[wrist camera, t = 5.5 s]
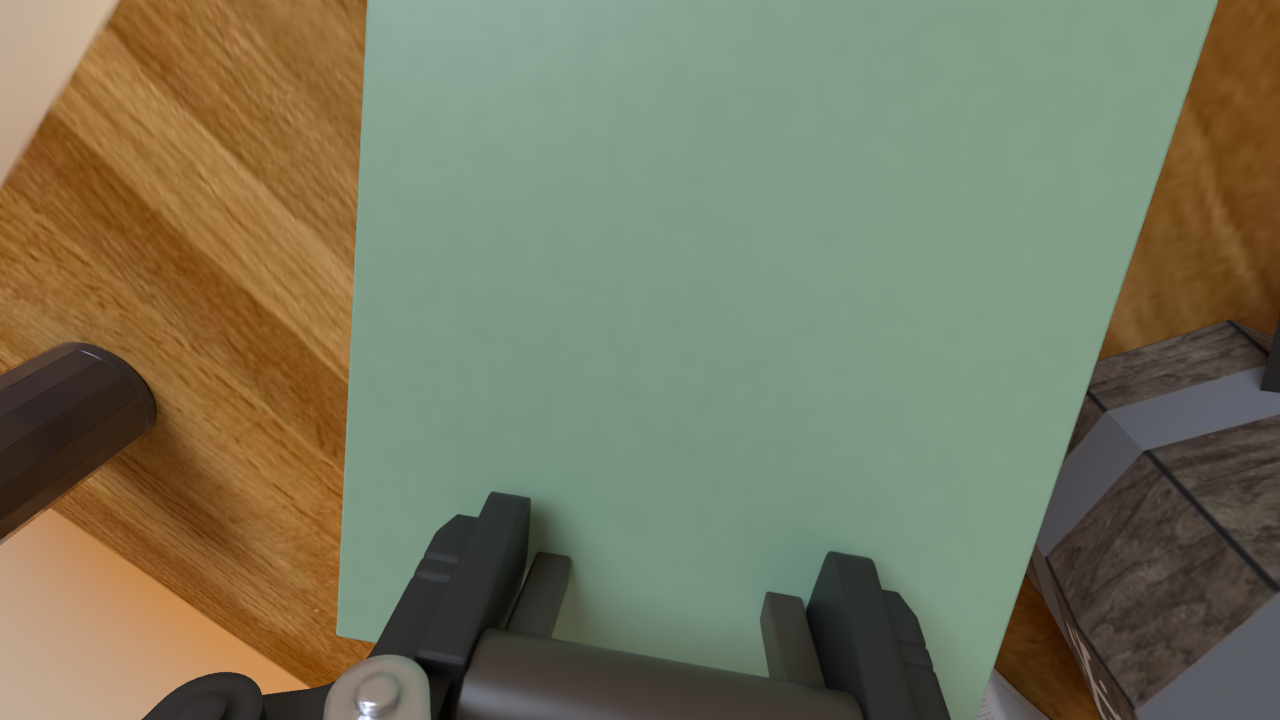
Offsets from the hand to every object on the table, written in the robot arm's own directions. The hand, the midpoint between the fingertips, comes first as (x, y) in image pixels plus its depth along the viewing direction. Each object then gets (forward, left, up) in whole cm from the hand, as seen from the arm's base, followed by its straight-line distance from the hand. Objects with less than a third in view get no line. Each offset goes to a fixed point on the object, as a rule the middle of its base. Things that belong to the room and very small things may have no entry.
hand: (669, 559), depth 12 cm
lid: (-3, +4, -3) cm, 6 cm away
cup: (-13, -24, -14) cm, 31 cm away
